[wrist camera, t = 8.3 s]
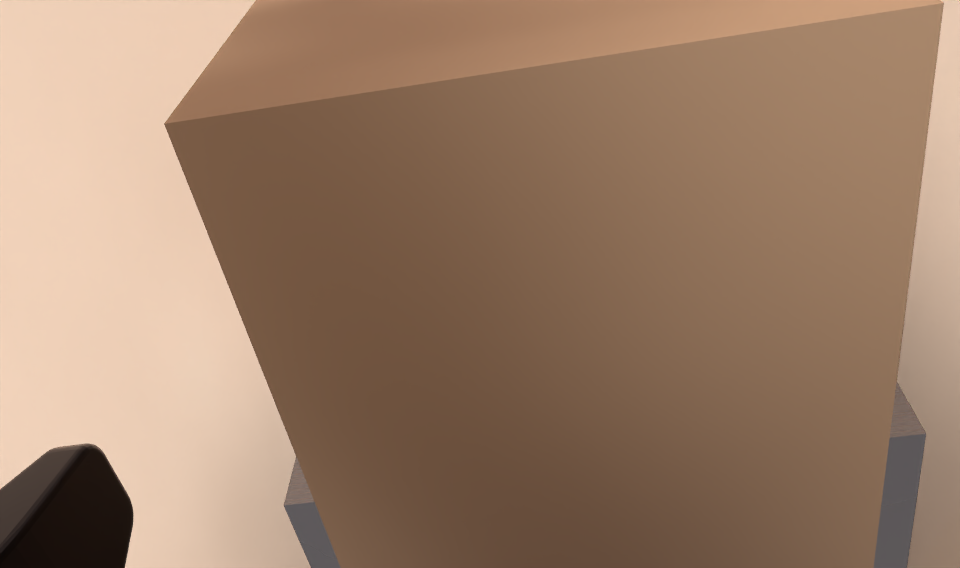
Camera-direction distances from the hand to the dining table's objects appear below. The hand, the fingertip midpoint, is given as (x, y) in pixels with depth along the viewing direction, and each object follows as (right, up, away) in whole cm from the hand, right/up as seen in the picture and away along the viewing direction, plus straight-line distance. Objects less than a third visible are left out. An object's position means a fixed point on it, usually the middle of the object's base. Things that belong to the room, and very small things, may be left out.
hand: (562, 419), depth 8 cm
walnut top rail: (+1, +1, +7) cm, 7 cm away
